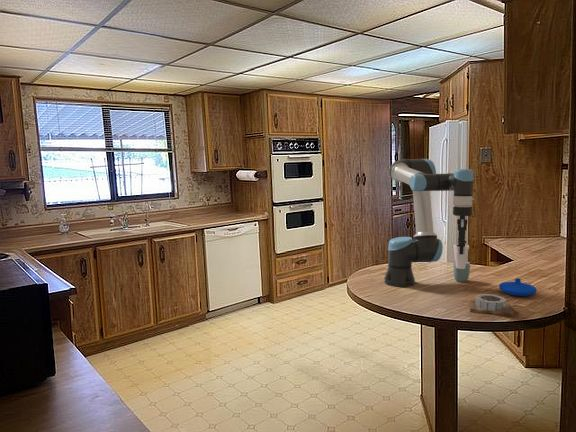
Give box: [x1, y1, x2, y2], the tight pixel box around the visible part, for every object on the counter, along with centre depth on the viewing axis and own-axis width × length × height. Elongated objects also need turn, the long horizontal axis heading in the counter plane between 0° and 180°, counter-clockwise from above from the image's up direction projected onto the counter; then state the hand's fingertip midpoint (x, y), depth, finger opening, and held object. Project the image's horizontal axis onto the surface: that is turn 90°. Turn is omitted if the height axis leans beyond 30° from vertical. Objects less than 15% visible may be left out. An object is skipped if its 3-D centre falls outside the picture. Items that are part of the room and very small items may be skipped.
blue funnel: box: [498, 278, 537, 297], centre depth 204 cm, size 16×16×7 cm
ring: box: [474, 293, 507, 311], centre depth 184 cm, size 12×12×4 cm
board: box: [468, 299, 514, 316], centre depth 184 cm, size 16×12×1 cm
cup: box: [453, 260, 471, 283], centre depth 226 cm, size 8×8×10 cm
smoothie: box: [452, 243, 470, 269], centre depth 186 cm, size 6×6×14 cm
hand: (460, 259), depth 186 cm, fingers closed on smoothie, 6 cm apart
